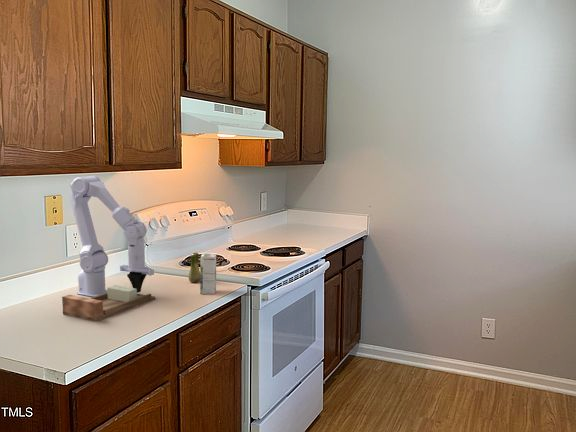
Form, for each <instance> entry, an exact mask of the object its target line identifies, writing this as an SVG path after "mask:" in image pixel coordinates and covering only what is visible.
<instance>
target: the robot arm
mask: <svg viewBox="0 0 576 432" xmlns="http://www.w3.org/2000/svg"><path fill="white" fill-rule="evenodd" d="M70 190H71V193H70V194H71V195H70V204H71V207H72V212H73V216H74V219H75V222H76V223H75V224H76V226H77V230H78V234H79V238H80V242H81V246H82V248H81V250H80V252H79V259H80V260H79V266H80V268H81V271H79V274H78V276H77V277H78V278H77V281H78V282H77V283H78V292H77V295H80V296H81V295H82V296H87V297H91V298H92V297H95V296H99V295H102V294H105V293H107V289H106V272H105V271H106V270H105V269H106V266H107V265H108V262H109V256H108V254H107V253H106V251H105V250H104V247H103V246H102V245H101V244H100V243H99V241H98V238H97V234H96V230H95V226H94V222H93V219H92V216H91V212H90V207H89V205H88V202H89V201H90V199H91V198H92V197H93V198H97V199H98V200H100V201H101V203H103V205H104V206H105V207H106V208H108V210H109V211H110V212H111V213H112V217H111V218H112V219H113V220H114V221H115V222H116V223H117V224H118V226H119V227H120V228H121V229H122V230H123V231H124V232H123V235H124V237H125V238H126V240H127V241H126V242H127V254H128V255H127V257H128V259H127V260H128V265H127V264H123V265H119V271H120V272H128V273H127V275H126V276H127V278H128V280H129V281H130V284H131V288H135V289H137V294H139V293H141V291H142V286H143V283H144V282H145V279H146V277H147V275H148V276H150V277H152V276H154V275H155V269H152V268H149V267H147V266H145V265H146V262H145V236H146V234H147V226H146V225H145V223H144V222H143V221H139V219H137V218H135V216H133V215H132V213H131V212H130V209H129V208H126V207H125V206H121V205H119V203H118V202H117V201H116V200H115V198H114V197H113V196H112V194H111V193H110V191H108V189H107V188H106V185H105V182H103V181H102V180H101V178H100V177H98V176H97V175H88V176H77V177H75V178H74V179H73V180H72V182H71V183H70Z"/></svg>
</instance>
